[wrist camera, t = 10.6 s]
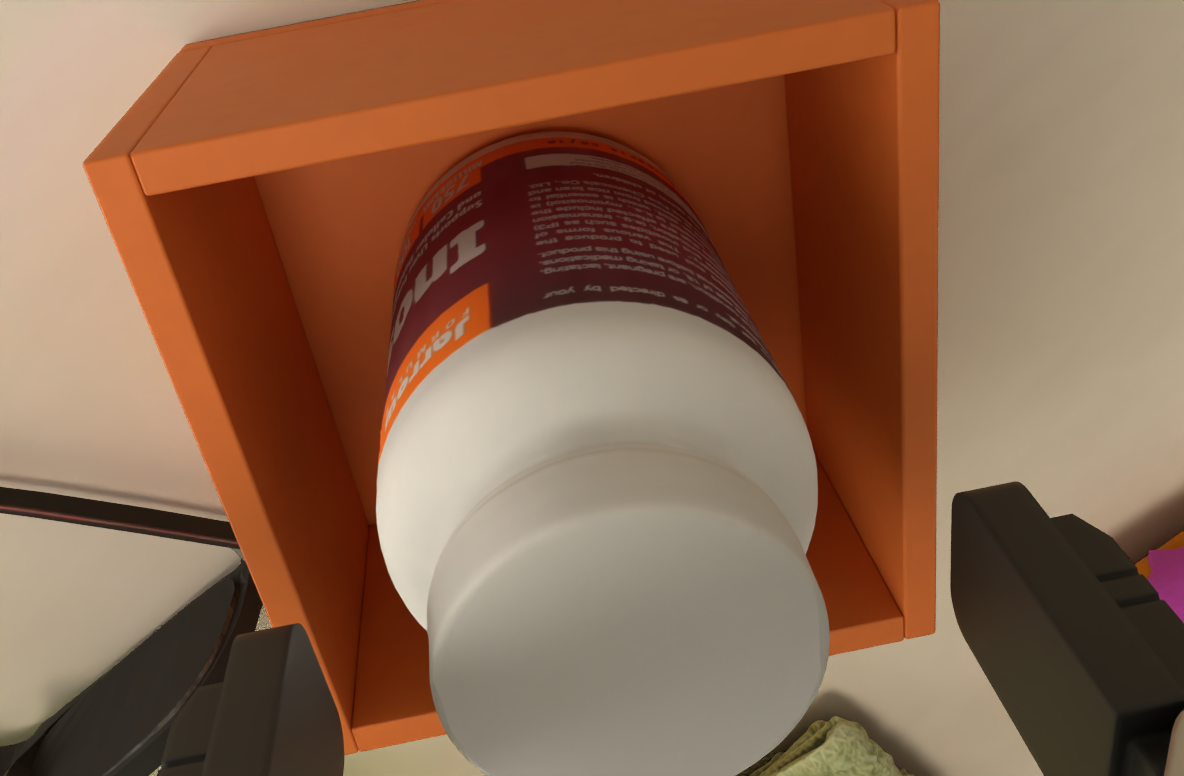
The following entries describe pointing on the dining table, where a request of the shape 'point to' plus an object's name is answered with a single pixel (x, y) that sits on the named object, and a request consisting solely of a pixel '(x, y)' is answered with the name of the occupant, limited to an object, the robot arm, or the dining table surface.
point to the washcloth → (832, 753)
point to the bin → (448, 136)
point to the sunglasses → (136, 653)
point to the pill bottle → (593, 475)
